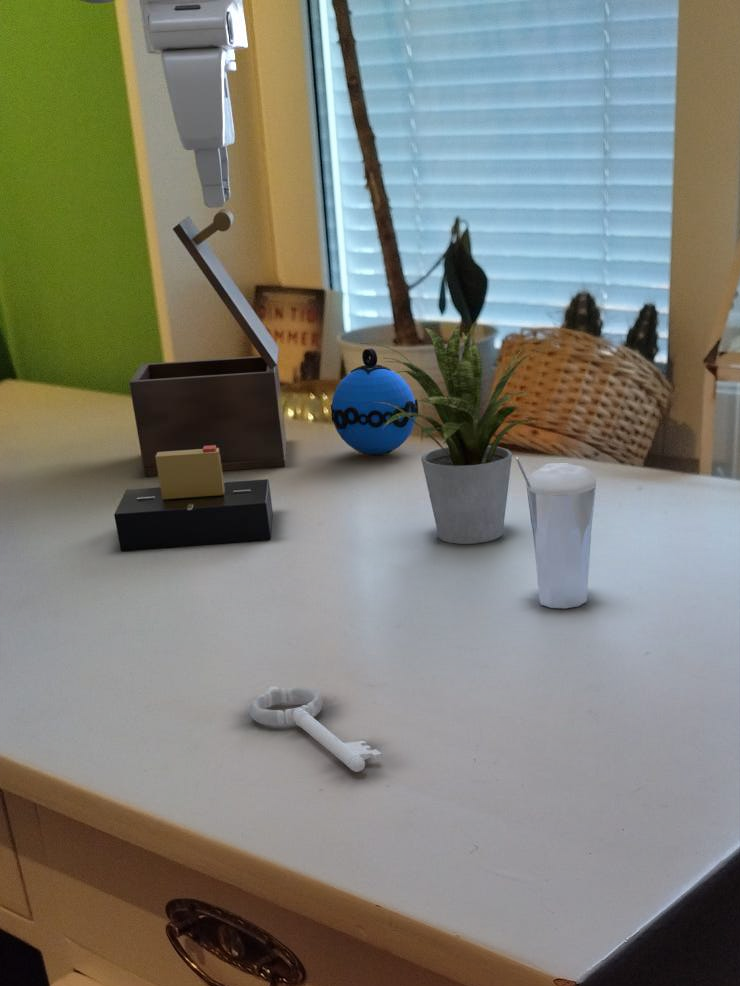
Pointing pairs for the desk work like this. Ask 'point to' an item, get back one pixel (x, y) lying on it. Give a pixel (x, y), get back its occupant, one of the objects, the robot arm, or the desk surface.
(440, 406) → the house plant
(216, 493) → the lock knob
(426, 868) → the desk surface
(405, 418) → the ornament
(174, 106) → the robot arm
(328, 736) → the key
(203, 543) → the panel
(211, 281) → the lid
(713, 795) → the desk surface
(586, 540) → the milkshake
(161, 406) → the box
